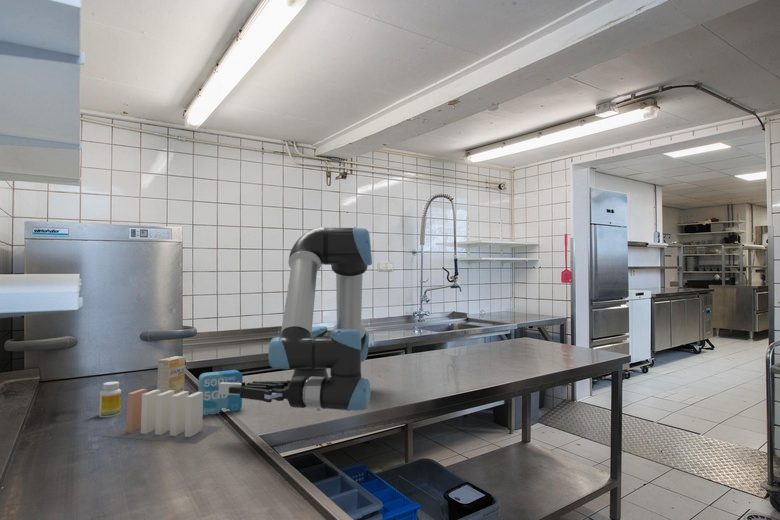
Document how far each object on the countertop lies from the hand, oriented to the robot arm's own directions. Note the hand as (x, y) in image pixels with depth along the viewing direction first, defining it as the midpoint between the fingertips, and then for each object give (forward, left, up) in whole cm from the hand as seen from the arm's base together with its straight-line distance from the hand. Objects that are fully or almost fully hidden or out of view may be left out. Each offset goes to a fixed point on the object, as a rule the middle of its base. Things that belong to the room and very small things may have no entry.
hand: (220, 388), depth 109 cm
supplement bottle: (+42, -11, -13) cm, 45 cm away
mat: (+16, -1, -12) cm, 20 cm away
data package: (+12, -20, -13) cm, 26 cm away
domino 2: (+20, -1, -12) cm, 24 cm away
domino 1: (+24, -1, -12) cm, 27 cm away
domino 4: (+12, -1, -12) cm, 17 cm away
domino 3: (+16, -1, -12) cm, 20 cm away
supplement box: (+39, -34, -13) cm, 53 cm away
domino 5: (+8, -1, -12) cm, 14 cm away
